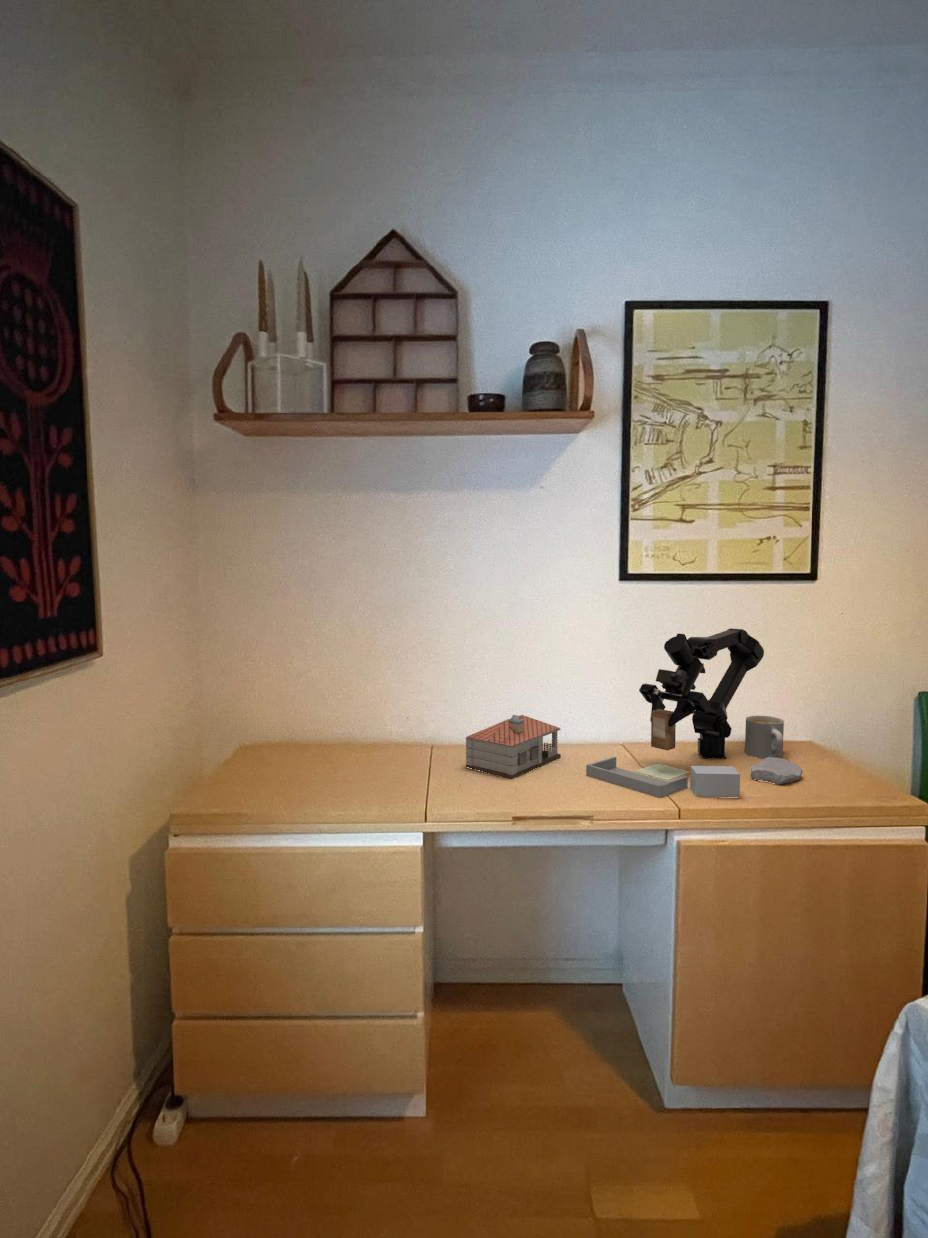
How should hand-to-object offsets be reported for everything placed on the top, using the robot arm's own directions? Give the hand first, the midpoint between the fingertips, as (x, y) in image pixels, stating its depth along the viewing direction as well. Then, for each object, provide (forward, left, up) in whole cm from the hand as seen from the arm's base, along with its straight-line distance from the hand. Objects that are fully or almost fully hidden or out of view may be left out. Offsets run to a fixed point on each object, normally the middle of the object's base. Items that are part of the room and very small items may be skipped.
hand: (660, 724), depth 186 cm
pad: (-1, -1, -13) cm, 13 cm away
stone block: (-29, +2, -14) cm, 32 cm away
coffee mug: (-32, -18, -14) cm, 40 cm away
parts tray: (+7, +7, -13) cm, 17 cm away
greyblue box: (-10, +15, -13) cm, 22 cm away
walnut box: (-1, -1, -6) cm, 7 cm away
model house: (+38, -8, -14) cm, 41 cm away
